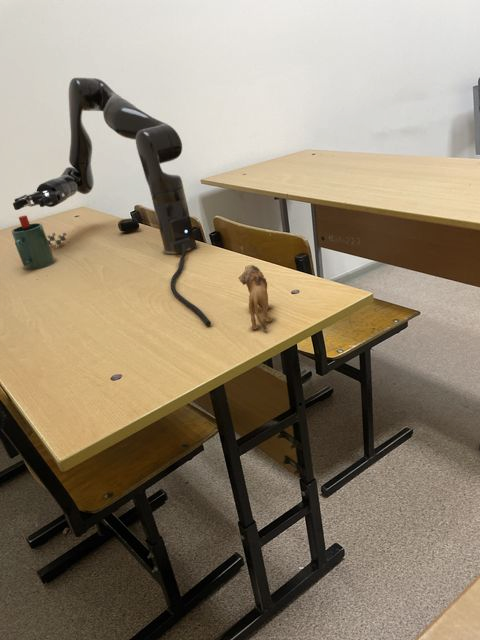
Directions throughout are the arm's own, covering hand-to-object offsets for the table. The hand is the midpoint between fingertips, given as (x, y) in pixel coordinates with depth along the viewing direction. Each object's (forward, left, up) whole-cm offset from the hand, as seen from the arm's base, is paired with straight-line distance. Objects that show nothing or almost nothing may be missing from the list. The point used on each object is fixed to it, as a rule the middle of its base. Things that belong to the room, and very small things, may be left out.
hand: (27, 205), depth 157 cm
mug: (-5, +4, -17) cm, 18 cm away
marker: (-3, +3, -16) cm, 17 cm away
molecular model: (+13, -5, -17) cm, 22 cm away
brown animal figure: (-90, -18, -17) cm, 94 cm away
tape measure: (+3, -30, -15) cm, 34 cm away
